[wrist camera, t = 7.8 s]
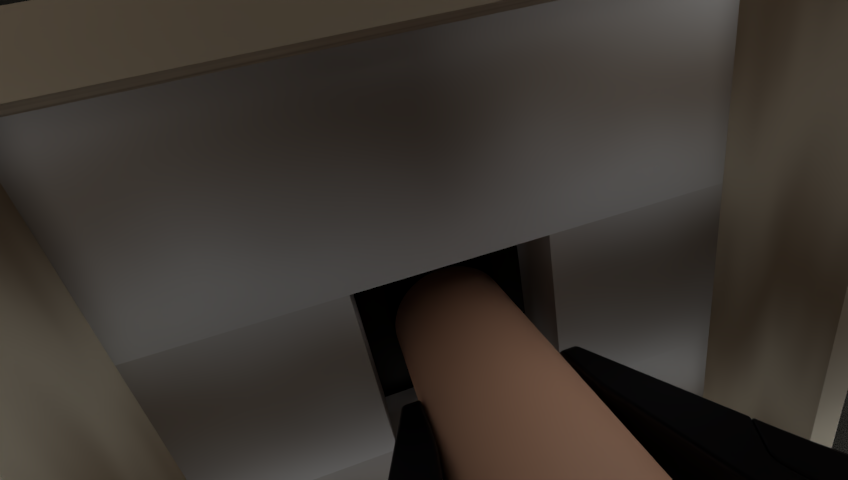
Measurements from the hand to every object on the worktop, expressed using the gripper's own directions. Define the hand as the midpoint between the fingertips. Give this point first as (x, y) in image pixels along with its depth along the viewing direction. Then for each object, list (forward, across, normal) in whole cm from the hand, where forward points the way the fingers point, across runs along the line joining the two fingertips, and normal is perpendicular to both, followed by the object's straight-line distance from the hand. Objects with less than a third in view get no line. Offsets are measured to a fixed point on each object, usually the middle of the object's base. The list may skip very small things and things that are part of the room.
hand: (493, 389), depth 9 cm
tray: (+4, 0, 0) cm, 4 cm away
